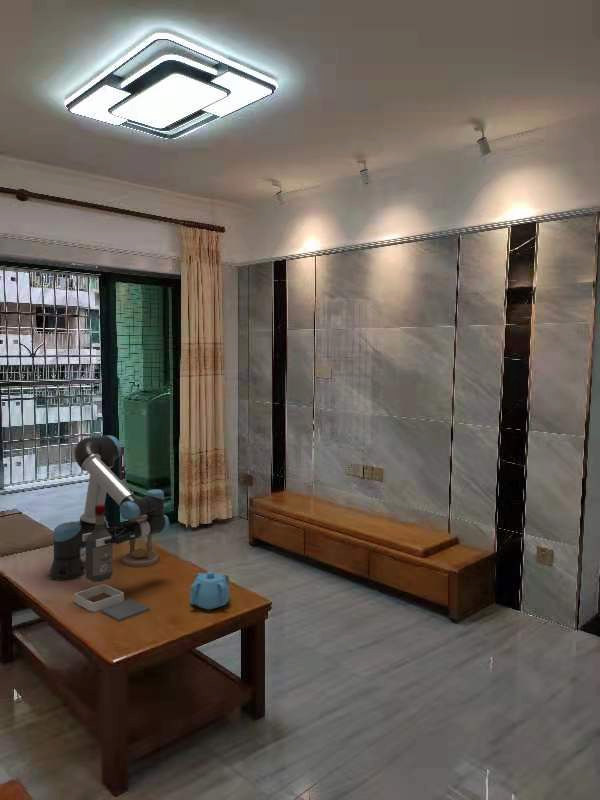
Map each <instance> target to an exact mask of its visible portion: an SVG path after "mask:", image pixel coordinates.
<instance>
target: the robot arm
mask: <svg viewBox="0 0 600 800" xmlns="http://www.w3.org/2000/svg"><path fill="white" fill-rule="evenodd" d="M73 452H74V453H73V454H74V455H73V456H74V461H75V462H76V464H77V465H78V467H79V468H80V469H81V470H83V472H87V473H88V474H89V480H88V486H87V491H86V493H87V494H86V499H85V500H86V501H85V507H84V513H83V514H81V515H80V517H79V521H80V522H77V521H69V522H68V521H66V522H63V523H60V524H58V525H57V526H55V528H54V530H53V537H52V539H53V560H52V564H51V565H50V569H49V576H50V577H51V578H53V579H52V580H54V579H58V580H57V581H69V580H75V579H78V578H81V577H83V576H84V575H85V574H86V567H85V566H84V563H83V559H82V555H81V548H84V547H86V539H87V537H88V536H89V535H90V534H91V533H92V532H93V530H94V529H95V518H96V514H95V506H97V505H104V506H105V503H106V498H107V494H108V495H109V496H110V497H111V498H112V500H113V501H115V502H116V504H117V505H118V506H119V513H120V516H121V518H122V519H124V520H127V521H129V522H126V524H125V525H124V526H120V527H118V526H117V525H115V526H109V522H108V521H107V519H106V518H107V517H106V516H105V515H104V526H105V529H106V530H107V531H108V532H109V533H110V534H111V535H112V538H111V537H106V538H102V539H98V540H96V547H99V546H103V545H107V544H111V543H113V544H116V545H119V544H122V543H124V542H128V541H129V540H132V539H135V540H136V539H142V538H143V539H144V537H147V536H148V535H152V536H153V535H156V534H160V533H163V532H166V531H167V530H168V529H169V527H170V520H169V517H168V516H167V515H166V514H165V512H164V511H165V493H164V490H162V489H149V490H147V492H146V496H144V497H141V498H138V497H137V496H136V495H135V494H134V493H133V492H132V491H131V490H130V489H129V488H128V487H127V485H125V484H124V483H123V481H121V479H120V478H119V477H118V476H117V475H116V474H115V473H114V472H113V471H112V470H111V468H113V467H115V460H117V459H118V458H120V457H121V454H122V445H121V443H120V442H119V440H118V438H117V437H115V436H114V435H101V436H95V437H94V436H93V437H86V438H85V437H84V438H83V439H80V441H78V443H77V444H76V445H75V447H74V451H73ZM143 515H147V518H145V519H140V520H136V521H132V522H130V520H129V519H135V518H137V517H140V516H143ZM140 537H141V538H140ZM50 577H49V578H50ZM51 578H50V579H51Z"/></svg>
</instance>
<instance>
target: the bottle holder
mask: <svg viewBox="0 0 600 800" xmlns="http://www.w3.org/2000/svg"><path fill="white" fill-rule="evenodd" d="M102 594H106V595H107V596H109V597H105V598H102V599H101V600H96V601H94V602H93V601H91V600H90V598H92V597H96V596H99V595H102ZM73 601H74V602H73V603H74V604H76V603H77V604H76V605H78V606H80V607H81V606H82V608H83V607H84V608H83V609H85V608H86V610H87V609H88V610H87V611H89V612H91V613H96V612H99V611H100V609H103V608H106V607H109V606H111V605H114V604H117V603H120V602H123V601H125V593H124V592H123V591H121V590H119V589H116V588H115V587H112V586H110V585H108V584H104V583H103V584H100V585H98V586H97V585H96V586H93V587H91V588H87V589H84V590H82V591H78V592H75V593H73ZM92 611H93V612H92Z"/></svg>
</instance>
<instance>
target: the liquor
mask: <svg viewBox="0 0 600 800" xmlns="http://www.w3.org/2000/svg"><path fill="white" fill-rule="evenodd" d="M105 509H106V507H105V504H104V505H97V506H95V514H96V518H95V529H94V530H93V532H92V533H91V534H90V535H89V536H88V537H87V539H86V553H85V579H86V580H87V581H90V582H92V583H100V582H103V581H107V580H110V579H111V578H112V576H113V573H114V571H113V568H114V567H113V565H114V564H113V563H114V560H113V559H114V558H113V557H114V543H111V544H107V545H103V546H99V547H96V540H98V539H102V538H106V537H111V538H112V535H111V534H110V533H109V532H108V531H107V530H106V529H105V526H104V516H105V513H106V511H105Z"/></svg>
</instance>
